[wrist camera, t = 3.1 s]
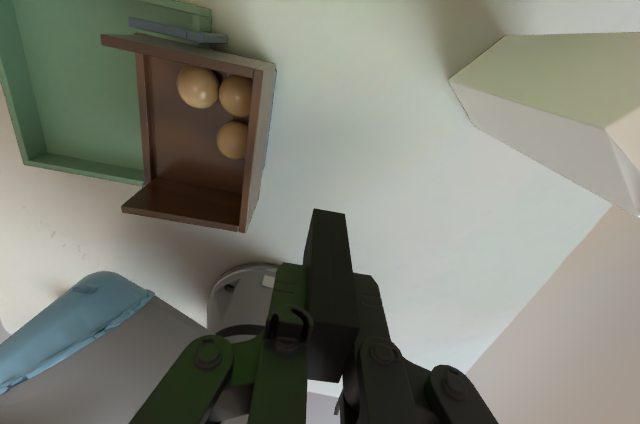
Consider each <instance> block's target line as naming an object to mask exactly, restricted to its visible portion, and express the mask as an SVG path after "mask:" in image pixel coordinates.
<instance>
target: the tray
mask: <svg viewBox="0 0 640 424" xmlns="http://www.w3.org/2000/svg"><path fill="white" fill-rule="evenodd" d="M128 17H133V18H140V19H145V20H149V21H153V22H157V23H162V24H166V25H170V26H174V27H179V28H183V29H187V30H192V31H197V32H210V33H211V10H210V9H206V8H203V7H199V6H195V5H191V4H187V3H183V2H178V1H174V0H0V81H1V84H2V88H3V91H4V95H5V99H6V102H7V106H8V109H9V113H10V117H11V120H12V124H13V127H14V131H15V134H16V138H17V142H18V145H19V149H20V152H21V156H22V159H23V164H24V165H27V166H33V167H39V168H44V169H50V170H55V171H61V172H66V173H72V174H77V175H83V176H88V177H94V178H99V179H105V180H111V181H116V182H122V183H127V184H133V185H138V186H142V184H143V183H144V182H145V178H144V165H143V152H142V139H141V126H140V113H139V100H138V87H137V74H136V61H135V53H134V52H130V51H125V50H121V49H116V48H112V47H107V46H103V45H102V44H101V38H100V34H119V35H133V34H134V33H136V32H139V33H144V34H147V35H151V36H155V37H159V38H164V39H168V40H173V41H177V42H181V43H186V44H190V45H194V46H199V47H203V48H207V49H210V43H198V42H194V41H190V40H185V39H181V38H177V37H172V36H168V35H164V34H159V33H155V32H151V31H146V30H142V29H138V28H133V27H130V26H129V22H128Z"/></svg>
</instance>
